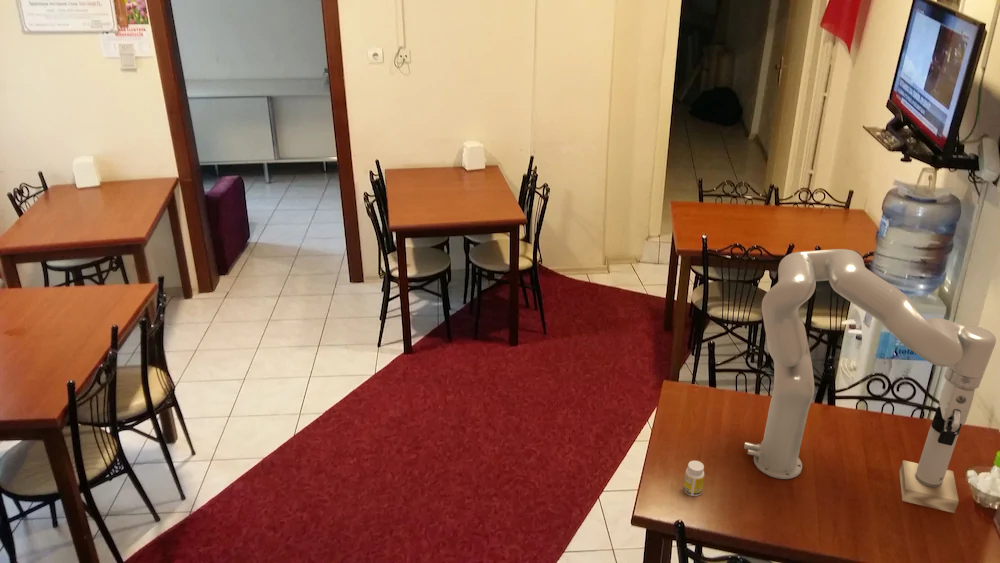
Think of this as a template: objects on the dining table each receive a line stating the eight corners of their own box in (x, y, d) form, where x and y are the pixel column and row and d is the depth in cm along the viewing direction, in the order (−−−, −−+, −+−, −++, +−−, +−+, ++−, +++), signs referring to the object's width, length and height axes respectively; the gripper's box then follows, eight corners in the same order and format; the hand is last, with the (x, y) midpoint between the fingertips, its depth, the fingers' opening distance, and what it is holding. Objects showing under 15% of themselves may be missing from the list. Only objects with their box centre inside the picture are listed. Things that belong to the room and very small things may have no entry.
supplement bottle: (702, 486, 202) (706, 461, 198) (700, 498, 198) (704, 473, 194) (684, 482, 204) (687, 457, 200) (682, 494, 200) (685, 469, 196)
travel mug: (946, 489, 195) (968, 426, 186) (918, 486, 196) (938, 423, 187) (939, 473, 201) (959, 411, 191) (912, 470, 202) (931, 408, 193)
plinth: (902, 500, 197) (905, 488, 195) (899, 471, 207) (902, 460, 205) (954, 513, 193) (958, 501, 191) (949, 482, 203) (953, 471, 201)
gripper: (986, 399, 175) (963, 457, 183) (975, 360, 190) (954, 416, 197) (950, 391, 178) (929, 448, 186) (942, 354, 192) (922, 409, 200)
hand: (942, 432), depth 192 cm, fingers open, 9 cm apart
